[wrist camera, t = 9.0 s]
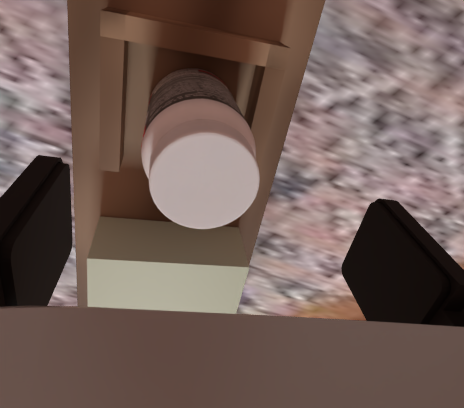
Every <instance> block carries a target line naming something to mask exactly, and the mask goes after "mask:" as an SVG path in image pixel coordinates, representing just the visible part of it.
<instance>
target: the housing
mask: <svg viewBox="0 0 464 408" xmlns="http://www.w3.org/2000/svg"><path fill="white" fill-rule="evenodd" d="M324 3H325V0H67V6H68V35H69V64H70V94H71V123H72V153H73V182H74V211H75V241H76V270H77V300H78V307H88V297H87V257H88V253H89V250H90V247H91V244H92V240H93V237H94V234H95V231H96V227H97V224H98V221H99V217H100V216H101V217H114V218H126V219H139V220H151V221H163V222H173V221H172V220H170V219H169V218H167V217H166V216H165V215H164V214H163V213H162V212H161V211H160V210H159V209H158V208H157V206H156V204H155V203H154V201H153V199H152V196H151V193H150V189H149V179H148V177H147V175H146V173H145V170H144V167H143V164H142V156H141V145H142V139H143V134H144V128H145V122H146V116H147V110H148V103H149V99H150V96H151V94H152V92H153V90H154V88H155V87H156V85H157V84H158V83H159V82H160V81H161V80H162V79H163V78H164V77H165V76H167V75H168V74H170V73H172V72H175V71H177V70H181V69H188V68H196V69H202V70H205V71H208V72H210V73H212V74H214V75H215V76H217V77H218V78H220V79H221V80H222V81H223V82H224V83H225V84H226V86H227V87H228V88H229V90H230V92H231V94H232V96H233V98H234V100H235V102H236V104H237V105H238V107H239V109H240V111H241V113H242V115H243V116H244V118H245V120H246V122H247V124H248V126H249V128H250V130H251V132H252V134H253V137H254V141H255V146H256V158H255V159H256V161H257V164H258V168H259V173H260V181H259V188H258V192H257V195H256V197H255V199H254V201H253V203H252V204H251V206H250V207H249V208H248V209H247V211H245V212H244V213H243V214H242V215H241V216H240V217H238V218H237V219H235V220H234V221H232V222H230V223H228V224H226V225H223V226H226V227H238V228H239V230H240V234H241V238H242V242H243V245H244V249H245V253H246V257H247V260H248V264H249V263H250V260H251V256H252V253H253V249H254V246H255V242H256V239H257V235H258V232H259V228H260V225H261V221H262V218H263V214H264V211H265V208H266V204H267V201H268V197H269V194H270V190H271V187H272V183H273V180H274V176H275V173H276V169H277V166H278V162H279V159H280V156H281V152H282V149H283V145H284V142H285V138H286V135H287V131H288V128H289V124H290V121H291V117H292V114H293V110H294V107H295V103H296V100H297V97H298V93H299V90H300V86H301V83H302V79H303V76H304V72H305V69H306V65H307V62H308V58H309V55H310V51H311V48H312V45H313V41H314V38H315V34H316V31H317V27H318V24H319V20H320V17H321V13H322V10H323V6H324Z"/></svg>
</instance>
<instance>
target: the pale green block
mask: <svg viewBox="0 0 464 408" xmlns="http://www.w3.org/2000/svg"><path fill="white" fill-rule="evenodd" d="M248 270H249V264H248V260H247V257H246V253H245V249H244V245H243V242H242V238H241V234H240V230H239V228H238V227H226V226H220V227H216V228H210V229H196V228H189V227H185V226H182V225H179V224H178V223H175V222H163V221H151V220H139V219H126V218H114V217H101V216H100V217H99V221H98V224H97V227H96V231H95V234H94V237H93V240H92V244H91V247H90V250H89V253H88V257H87V297H88V307H106V308H126V309H146V310H167V311H188V312H209V313H228V314H236V312H237V308H238V305H239V301H240V298H241V295H242V291H243V288H244V284H245V281H246V277H247V274H248Z"/></svg>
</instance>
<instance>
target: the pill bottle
mask: <svg viewBox="0 0 464 408" xmlns="http://www.w3.org/2000/svg"><path fill="white" fill-rule="evenodd" d="M141 156H142V164H143V167H144V170H145V173H146V175H147V177H148V179H149V189H150V193H151V196H152V199H153V201H154V203H155V204H156V206H157V208H158V209H159V210H160V211H161V212H162V213H163V214H164V215H165V216H166V217H167V218H169V219H170V220H172V221H173V222H175V223H178V224H179V225H182V226H185V227H189V228H196V229H210V228H216V227H220V226H223V225H226V224H228V223H230V222H232V221H234V220H235V219H237V218H238V217H240V216H241V215H242V214H243V213H244V212H245V211H247V209H248V208H249V207H250V206H251V204H252V203H253V201H254V199H255V197H256V195H257V192H258V188H259V181H260V173H259V168H258V164H257V161H256V159H255V158H256V146H255V141H254V137H253V134H252V132H251V130H250V128H249V126H248V124H247V122H246V120H245V118H244V116H243V115H242V113H241V111H240V109H239V107H238V105H237V104H236V102H235V100H234V98H233V96H232V94H231V92H230V90H229V88H228V87H227V86H226V84H225V83H224V82H223V81H222V80H221V79H220V78H218V77H217V76H215V75H214V74H212V73H210V72H208V71H205V70H202V69H196V68H188V69H181V70H177V71H175V72H172V73H170V74H168V75H167V76H165V77H164V78H163V79H162V80H161V81H160V82H159V83H158V84H157V85H156V87H155V88H154V90H153V92H152V94H151V96H150V99H149V103H148V110H147V116H146V122H145V128H144V134H143V139H142V145H141Z"/></svg>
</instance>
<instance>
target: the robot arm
mask: <svg viewBox="0 0 464 408" xmlns="http://www.w3.org/2000/svg"><path fill="white" fill-rule="evenodd" d="M71 249H72V217H71V191H70V168H69V165H68V164H64V163H63V162H62V159H61V158H57V157H49V156H41V155H38V156H37V157H36V158H35V159H34V160H33V161H32V162H31V163H30V165H29V166H28V167H27V168H26V169H25V170H24V171H23V173H22V174H21V175H20V176H19V177H18V178H17V179H16V181H15V182H14V183H13V184H12V185H11V186H10V187H9V189H8V190H7V191H6V192H5V193H4V194H3V195H2V197H0V408H464V270H463V269H462V268H461V267H460V266H459V265H458V264H457V263H456V261H455V260H454V259H453V258H452V257H451V256H450V255H449V254H448V253H447V252H446V251H445V250H444V249H443V248H442V247H441V246H440V245H439V244H438V243H437V242H436V241H435V240H434V239H433V238H432V237H431V236H430V234H429V233H428V232H427V231H426V230H425V229H424V228H423V227H422V226H421V225H420V224H419V223H418V222H417V221H416V220H415V219H414V218H413V217H412V216H411V215H410V214H409V213H408V212H407V211H406V210H405V209H404V207H403V206H402V205H401V204H400V203H399V202H397V201H394V200H386V199H377V200H376V201H375V202H373V203H371V204H370V205H369V207H368V209H367V212H366V214H365V216H364V218H363V220H362V222H361V225H360V227H359V229H358V231H357V233H356V236H355V238H354V240H353V242H352V244H351V246H350V249H349V251H348V253H347V255H346V257H345V260H344V262H343V264H342V275H343V277H344V279H345V281H346V282H347V284H348V286H349V288H350V290H351V292H352V294H353V296H354V297H355V299H356V301H357V303H358V305H359V307H360V309H361V311H362V313H363V314H364V316H365V318H366V320H367V321H359V320H341V319H323V318H305V317H286V316H267V315H248V314H228V313H209V312H188V311H167V310H146V309H126V308H106V307H78V306H47V305H48V303H49V301H50V298H51V296H52V294H53V291H54V289H55V287H56V285H57V282H58V280H59V278H60V275H61V273H62V271H63V269H64V266H65V264H66V262H67V259H68V257H69V255H70V252H71Z"/></svg>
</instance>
